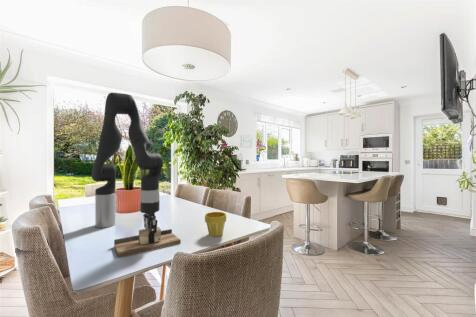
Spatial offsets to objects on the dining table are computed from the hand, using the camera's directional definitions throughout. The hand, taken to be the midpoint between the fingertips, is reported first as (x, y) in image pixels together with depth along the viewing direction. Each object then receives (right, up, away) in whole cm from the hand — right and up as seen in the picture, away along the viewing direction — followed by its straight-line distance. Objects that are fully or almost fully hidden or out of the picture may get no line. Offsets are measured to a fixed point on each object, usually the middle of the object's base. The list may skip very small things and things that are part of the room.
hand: (150, 240), depth 95 cm
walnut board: (-1, -2, +1) cm, 2 cm away
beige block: (0, 0, 0) cm, 0 cm away
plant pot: (+26, -2, +14) cm, 30 cm away
